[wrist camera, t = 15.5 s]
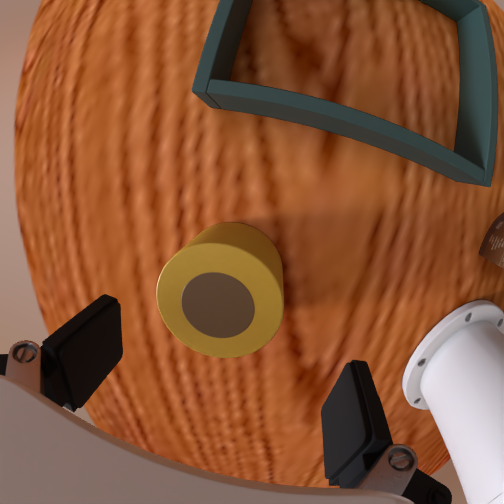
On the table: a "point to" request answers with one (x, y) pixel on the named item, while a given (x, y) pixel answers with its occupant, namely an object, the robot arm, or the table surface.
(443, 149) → the dark green rectangular frame
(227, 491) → the robot arm
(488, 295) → the table surface
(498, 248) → the food container
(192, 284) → the tape roll
